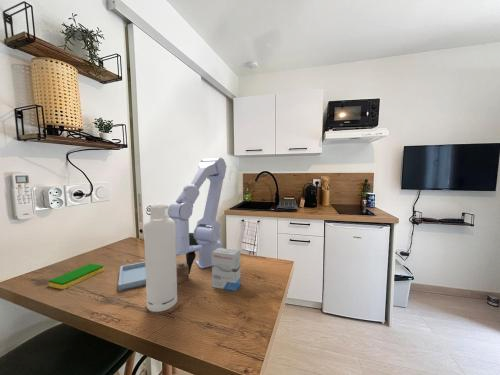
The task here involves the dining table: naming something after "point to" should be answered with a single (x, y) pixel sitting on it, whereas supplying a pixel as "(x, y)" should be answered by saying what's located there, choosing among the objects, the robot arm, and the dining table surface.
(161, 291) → the bottle
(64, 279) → the dish sponge
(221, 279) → the ink box
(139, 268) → the tray
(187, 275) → the walnut block
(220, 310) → the dining table surface
